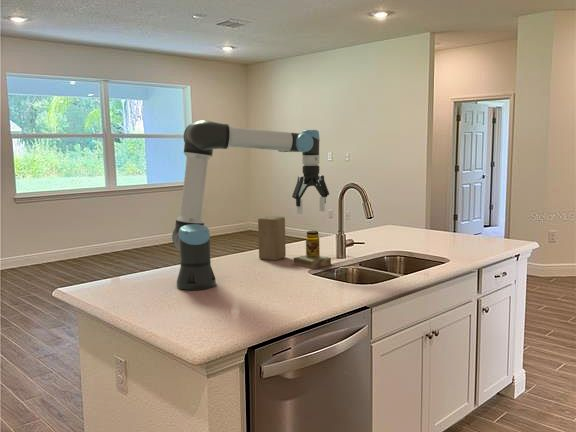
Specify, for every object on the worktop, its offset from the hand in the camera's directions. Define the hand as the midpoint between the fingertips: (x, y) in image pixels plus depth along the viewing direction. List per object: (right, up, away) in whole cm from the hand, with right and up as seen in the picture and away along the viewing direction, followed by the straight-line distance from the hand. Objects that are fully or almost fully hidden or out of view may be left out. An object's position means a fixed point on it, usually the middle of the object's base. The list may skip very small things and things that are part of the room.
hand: (311, 212), depth 231 cm
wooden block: (-18, -22, +18) cm, 34 cm away
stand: (+1, -24, +3) cm, 24 cm away
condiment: (+1, -21, +3) cm, 21 cm away
